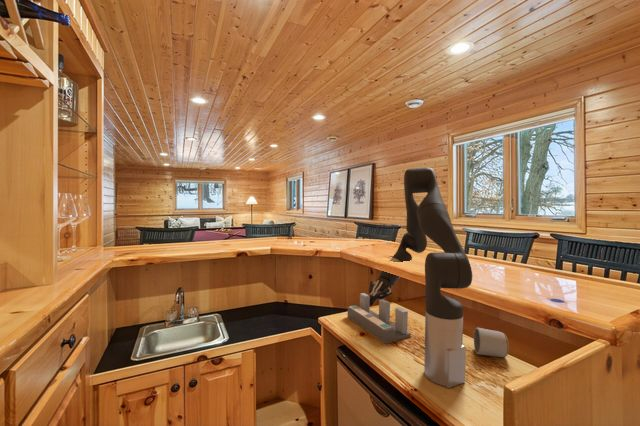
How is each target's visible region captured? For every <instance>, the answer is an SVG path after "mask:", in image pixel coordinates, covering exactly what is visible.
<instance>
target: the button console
mask: <svg viewBox="0 0 640 426" xmlns="http://www.w3.org/2000/svg"><path fill="white" fill-rule="evenodd" d="M347 318H348V319H349V320H351V321H352V322H353V323H355V324H357V325H358V326H359V327H361V328H362V329H364V330H365V331H366V332H368V333H369V334H371V335H372V336H373V337H375V338H376V339H377V340H379V341H381V342H382V343H383V344H388V343H392V342H396V341H400V340H404V339H409V338H411V336H412V335H411V333H410V332H409V331H407V333H404V334H402V333H401V332H399V331H397V330H396V329H395V323H394V322H391V321H390V322H389V323H384V322H383V321H381V320H379V313H376V312H375V311H373V310H371V309H370V313H368V312H366V311H365V310H363V309H361V308H360V306H359V305H356V304H355V305H350V306H347Z"/></svg>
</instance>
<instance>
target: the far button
mask: <svg viewBox="0 0 640 426" xmlns="http://www.w3.org/2000/svg"><path fill="white" fill-rule="evenodd" d="M359 307H360V308H361V309H363V310H365V311H366V312H368V313H370V310H371V309H370V307H371V306H370V295H369V294H367V293H365V292H363V293H362V292H361V293H359Z"/></svg>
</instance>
